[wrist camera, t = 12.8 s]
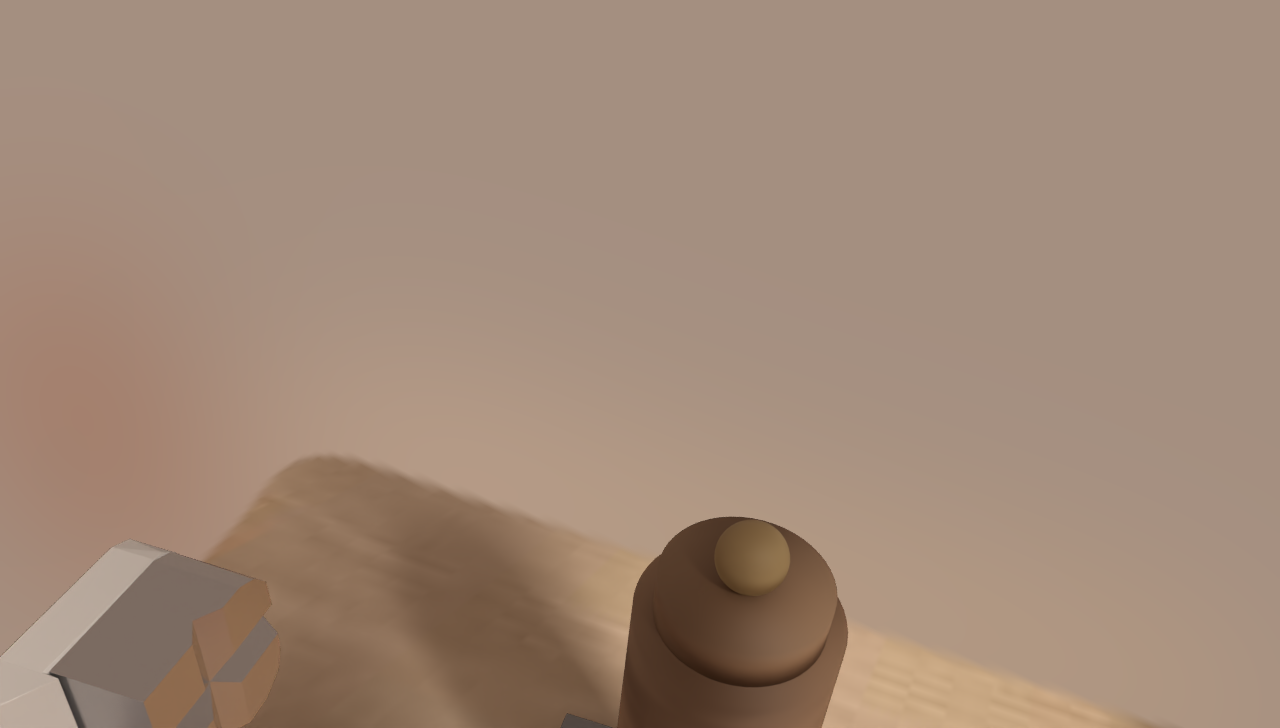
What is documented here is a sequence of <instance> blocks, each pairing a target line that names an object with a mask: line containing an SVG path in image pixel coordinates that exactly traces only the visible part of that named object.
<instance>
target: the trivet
mask: <svg viewBox="0 0 1280 728" xmlns="http://www.w3.org/2000/svg"><path fill="white" fill-rule="evenodd" d="M561 728H612V727H609V726H606V725H603V724H599V723H596V722H593V721H590V720H587V719H584V718H580V717H577V716H574V715H571V714H568V713H567V714H566V716H565V719H564V721H563V723H562V726H561Z"/></svg>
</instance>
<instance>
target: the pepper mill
mask: <svg viewBox="0 0 1280 728" xmlns="http://www.w3.org/2000/svg"><path fill="white" fill-rule="evenodd" d="M847 639H848V628H847V620H846V616H845V613H844V609H843V607H842V605H841V603H840V601H839V598H838V597H837V587H836V583H835V579H834V577H833V574H832V572H831V570H830V568H829V566H828V565H827V563H826V561H825V560H824V559H823V558H822V556H821V555H820V554H819V553H818V552H817V551H816V550H815V549H814V548H813V547H812V546H811V545H810V544H808V543H807V542H806V541H805V540H804V539H802V538H800V537H799V536H798V535H796V534H794V533H793V532H791V531H789V530H787V529H785V528H782V527H780V526H777V525H775V524H772V523H769V522H766V521H762V520H758V519H753V518H745V517H719V518H713V519H709V520H705V521H701V522H698V523H696V524H693V525H691V526H689V527H687V528H686V529H684V530H682V531H681V532H680V533H678V534H677V535H676V536H675V537H674V538H673V539H672V540H671V541H670V542H669V543H668V544H667V546H666V547H665V549H664V550H663V552H662V554H661V555H659V556H658V557H657V558H656V559H655V560H654V561H653V562H652V563H651V564H650V565H649V566H648V567H647V568H646V570H645V571H644V572H643V574H642V575H641V577H640V579H639V581H638V583H637V586H636V589H635V592H634V597H633V605H632V613H631V621H630V629H629V637H628V645H627V653H626V661H625V669H624V677H623V685H622V693H621V702H620V710H619V718H618V726H617V728H821V727H822V724H823V721H824V718H825V715H826V712H827V708H828V705H829V702H830V699H831V696H832V693H833V689H834V686H835V683H836V680H837V677H838V673H839V670H840V667H841V664H842V661H843V658H844V654H845V650H846V646H847Z"/></svg>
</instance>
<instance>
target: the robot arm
mask: <svg viewBox="0 0 1280 728" xmlns="http://www.w3.org/2000/svg"><path fill="white" fill-rule="evenodd" d="M271 605H272V603H271V599H270V595H269V591H268V588H267V584H266V582H265V581H262V580H259V579H256V578H252V577H249V576H246V575H243V574H240V573H236V572H233V571H230V570H227V569H224V568H221V567H217V566H214V565H211V564H208V563H205V562H202V561H198V560H195V559H192V558H189V557H186V556H182V555H179V554H177V553H175V552H172V551H168V550H165V549H162V548H158V547H154V546H151V545H148V544H145V543H141V542H138V541H134V540H131V539H128V540H126V541H124V542H122V543H120V544H118V545H115V546H113V547H112V548H110V549H109V550H108V551H107V552H106V553H105V554H104V555H103V556H102V557H101V558H100V559H99V560H98V561H97V562H96V563H95V564H94V565H93V566H92V567H91V568H90V569H89V570H88V571H87V572H86V573H85V574H83V575H82V576H81V577H80V579H78V580H77V581H76V582H75V583H74V584H73V585H72V586H71V587H70V588H69V589H68V590H67V591H66V592H65V593H64V594H63V595H62V596H61V597H60V598H59V599H58V600H57V601H56V602H55V603H54V604H53V605H52V606H51V607H50V608H49V609H48V610H47V611H46V612H45V613H44V614H43V615H42V616H41V617H40V618H39V619H38V620H37V621H36V622H35V623H34V624H33V625H32V626H31V627H30V628H29V629H28V630H27V631H26V632H25V633H24V634H23V635H22V636H21V637H19V639H17V641H15V643H14V644H12V645H11V646H10V647H9V648H8V649H7V650H6V651H5V652H4V654H2V655H1V656H0V728H240V727H242V726H244V725H246V724H248V723H250V722H251V721H252V719H253V718H254V717H255V715H256V714H257V712H258V711H259V709H260V708H261V706H262V705H263V703H264V702H265V700H266V699H267V697H268V695H269V692H270V690H271V687H272V685H273V682H274V680H275V678H276V675H277V673H278V670H279V661H280V652H281V648H280V643H279V637H278V633H277V632H276V631H275V629H274V628H273V627H272V626H271V625H270V624H269V622H268V621H267V620H266V619H265V618H264V617H263V615H264V614H265V612H266V611H267V610H268V608H269V607H270V606H271Z"/></svg>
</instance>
